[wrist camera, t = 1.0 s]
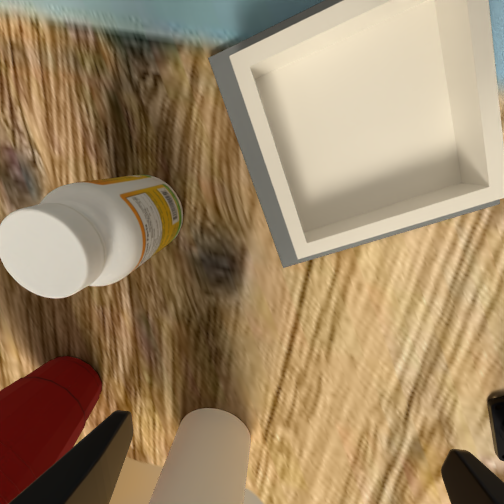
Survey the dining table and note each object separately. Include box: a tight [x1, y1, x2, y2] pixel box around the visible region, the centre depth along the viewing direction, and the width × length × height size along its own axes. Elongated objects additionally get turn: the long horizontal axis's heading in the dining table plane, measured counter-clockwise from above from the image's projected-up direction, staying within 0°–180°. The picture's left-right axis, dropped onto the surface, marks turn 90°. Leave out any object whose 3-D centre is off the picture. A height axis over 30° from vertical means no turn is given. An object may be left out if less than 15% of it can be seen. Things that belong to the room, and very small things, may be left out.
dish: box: [229, 0, 504, 259], centre depth 15 cm, size 11×11×3 cm
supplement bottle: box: [0, 175, 183, 298], centre depth 16 cm, size 5×5×10 cm
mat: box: [208, 0, 500, 268], centre depth 17 cm, size 14×14×1 cm
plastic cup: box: [0, 356, 102, 504], centre depth 21 cm, size 11×11×12 cm
